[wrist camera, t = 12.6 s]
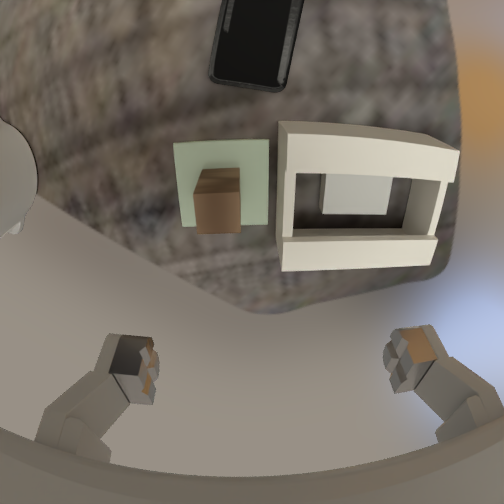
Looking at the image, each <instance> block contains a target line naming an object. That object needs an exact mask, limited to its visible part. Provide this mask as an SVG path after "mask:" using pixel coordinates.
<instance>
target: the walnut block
mask: <svg viewBox="0 0 504 504" xmlns="http://www.w3.org/2000/svg"><path fill="white" fill-rule="evenodd" d="M193 200H194V209H195V218H196V227H197V234H220V233H241V194H240V168H216V169H202V171H201V174H200V176H199V179H198V182H197V184H196V187H195V190H194V193H193Z"/></svg>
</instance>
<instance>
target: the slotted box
mask: <svg viewBox="0 0 504 504" xmlns="http://www.w3.org/2000/svg"><path fill="white" fill-rule="evenodd" d="M459 153H460V151H458V150H457V149H455V148H453V147H451V146H449V145H447V144H445V143H443V142H441V141H439V140H437V139H435V138H433V137H431V136H429V135H427V134H422V133H416V132H410V131H403V130H396V129H389V128H381V127H372V126H363V125H352V124H340V123H326V122H307V121H278V163H277V202H276V233H275V237H276V243H277V248H278V253H279V259H280V264H281V270H282V271H308V270H335V269H359V268H381V267H401V266H420V265H430V262H431V260H432V257H433V254H434V251H435V248H436V245H437V241H438V239H437V238H436V237H435V236H434V233H435V230H436V226H437V223H438V219H439V216H440V212H441V208H442V204H443V200H444V196H445V192H446V188H447V184H448V182H453V183H454V178H455V173H456V169H457V164H458V159H459ZM296 173H322V174H321V186H320V197H319V208H320V210H321V212H322V214H382V215H386V212H387V207H388V202H389V196H390V191H391V185H392V180H393V177H402V178H412V183H411V188H410V193H409V198H408V203H407V207H406V212H405V216H404V220H403V225H402V228H338V229H293V217H294V201H295V182H296Z"/></svg>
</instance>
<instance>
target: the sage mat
mask: <svg viewBox="0 0 504 504" xmlns="http://www.w3.org/2000/svg"><path fill="white" fill-rule="evenodd" d="M173 149H174V159H175V169H176V178H177V187H178V196H179V204H180V212H181V220H182V227H195V226H196V218H195V209H194V200H193V193H194V190H195V187H196V184H197V182H198V179H199V176H200V174H201V171H202V169H216V168H240V194H241V225H268V182H269V139H229V140H207V141H190V142H177V143H174V144H173Z"/></svg>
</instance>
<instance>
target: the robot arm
mask: <svg viewBox="0 0 504 504" xmlns="http://www.w3.org/2000/svg"><path fill="white" fill-rule="evenodd" d="M36 191H37V170H36V165H35V160H34V157H33V154H32V152H31V149H30V147H29V145H28V143H27V142H26V140H25V138H24V137H23V136H22V134H21V133H20V132H19V131H18V130H17V129H15V128H14V127H13V126H11V125H9V124H7V123H5V122H4V121H3V120H2V119H1V118H0V239H1V238H2V237H3V236H4V235H5V234H6V233H11V234H18V233H19V232H20V231H22V229H23V226H24V218H25V215H26V213H27V212H28V211H29V209H30V208H31V206H32V204H33V202H34V199H35V196H36ZM390 338H391V341H390V342H389V343H387V344H386V346H385V349H384V351H383V362H384V365H385V369H386V370H387V371H389V372H390V373H391V376H390V379H389V380H390V382H391V385H392V388H393V391H394V394H396V393H401V392H407V391H412V390H414V392H415V393H416V394H417V395H418V396H419V397H420V398H421V399H422V400H423V401H424V402H425V403H426V404H427V405H428V406H429V407H430V408H431V409H432V410H433V411H434V412H435V413H436V414H437V415H438V416H439V417H440V418H441V419H442V420H443V421H444V423H443V424H442V425H441V426H440V427H439V428H438V429H437V430H436V432H435V434H436V437H437V440H438V443H437V444H434V445H432V446H428V447H425V448H422V449H419V450H416V451H413V452H409V453H406V454H403V455H399V456H395V457H391V458H387V459H383V460H379V461H375V462H370V463H366V464H362V465H356V466H351V467H346V468H339V469H333V470H327V471H320V472H312V473H303V474H292V475H280V476H260V477H216V476H197V475H183V474H174V473H164V472H157V471H150V470H143V469H137V468H131V467H126V466H121V465H116V464H111V463H110V457H111V450H110V448H109V447H108V446H107V445H106V444H105V443H103V441H101V440H100V438H101V437H102V436H103V435H104V434H105V433H106V432H107V430H108V429H109V428H110V427H111V426H112V425H113V424H114V422H115V421H116V420H117V419H118V418H119V417H120V415H121V414H122V413H123V412H124V411H125V410H126V408H127V407H128V406H129V405H130V403H134V404H145V405H153V402H154V396H155V392H156V388H155V386H154V383H153V382H154V381H155V380H157V378H158V375H159V357H158V354H157V352H156V351H155V350H153V347H154V342H153V340H152V337H143V336H131V335H121V334H110V333H109V334H108V335H107V337H106V338H105V341H104V344H103V347H102V349H101V352H100V355H99V357H98V360H97V363H96V366H95V369H94V371H89V372H88V373H87V374H86V375H85V376H83V377H82V378H81V379H80V380H79V381H77V382H76V383H75V384H74V385H73V386H71V387H70V388H69V389H68V390H67V391H66V392H64V393H63V394H62V395H61V396H60V397H58V398H57V399H56V400H55V401H54V402H53V403H51V404H50V405H49V406H48V407H47V408H45V410H44V413H43V416H42V419H41V422H40V425H39V428H38V431H37V434H36V437H35V440H34V441H32V440H30V439H27V438H25V437H22V436H20V435H17V434H15V433H12V432H10V431H8V430H5V429H3V428H1V427H0V504H504V407H503V405H502V403H501V400H500V398H499V396H498V394H497V392H496V390H495V388H494V387H493V386H492V385H490V384H489V383H488V382H486V381H485V380H484V379H482V378H481V377H479V376H478V375H477V374H476V373H474V372H473V371H472V370H470V369H469V368H467V367H466V366H464V365H463V364H462V363H460V362H459V361H457V360H456V359H455V358H453V357H449V356H448V354H447V352H446V350H445V348H444V346H443V344H442V342H441V341H440V339H439V337H438V335H437V333H436V331H435V330H434V328H433V326H431V325H422V326H413V327H406V328H399V329H395V330H393V331H392V333H391V335H390Z"/></svg>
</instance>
